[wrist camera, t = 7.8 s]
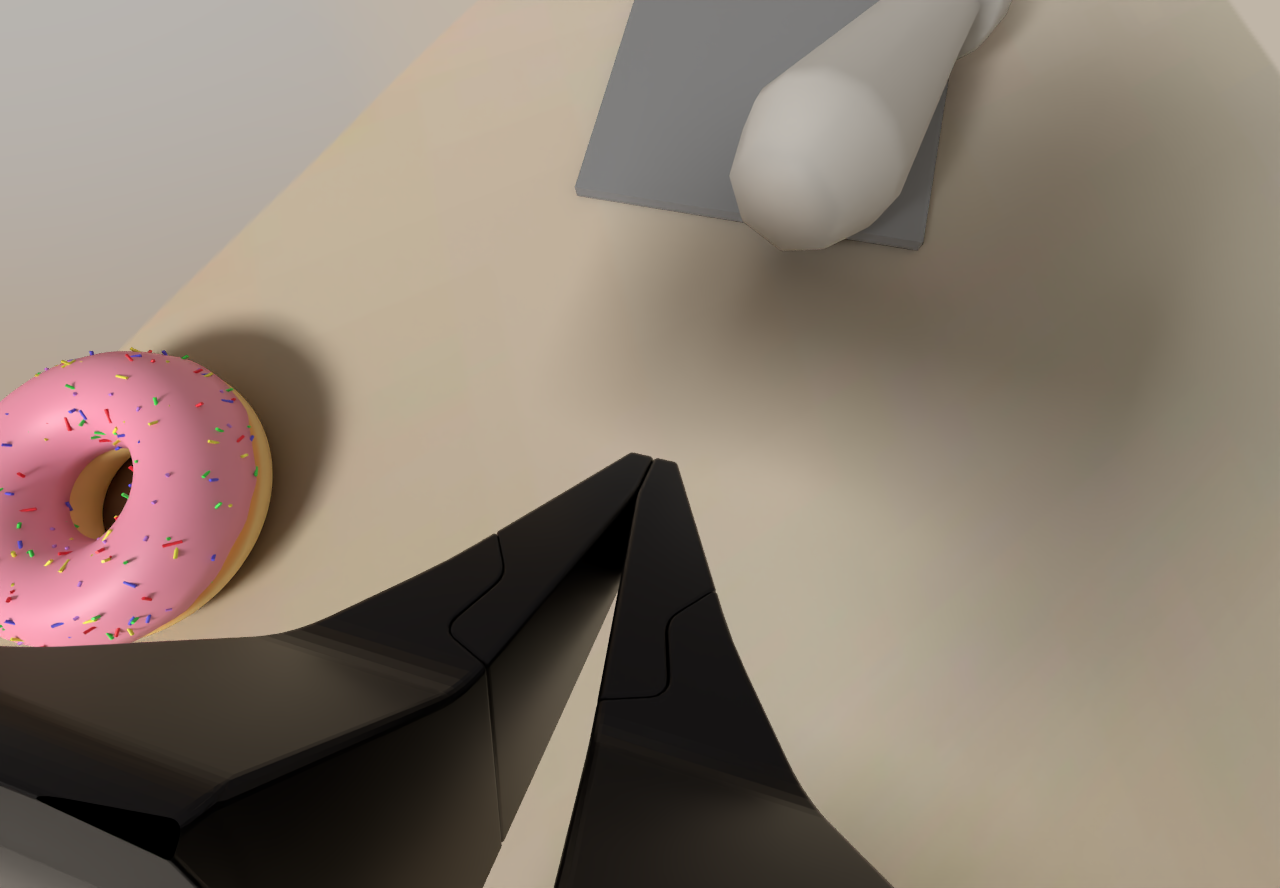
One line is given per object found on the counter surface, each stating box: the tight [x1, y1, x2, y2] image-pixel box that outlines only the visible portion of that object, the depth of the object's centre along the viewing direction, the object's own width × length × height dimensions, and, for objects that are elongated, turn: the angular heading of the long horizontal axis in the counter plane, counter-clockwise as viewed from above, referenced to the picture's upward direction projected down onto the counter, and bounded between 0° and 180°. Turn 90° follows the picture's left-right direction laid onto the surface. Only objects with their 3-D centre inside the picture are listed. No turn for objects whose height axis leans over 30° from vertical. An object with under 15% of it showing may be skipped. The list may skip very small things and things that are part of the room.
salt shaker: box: [729, 0, 1012, 251], centre depth 18 cm, size 6×6×13 cm
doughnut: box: [0, 347, 273, 647], centre depth 19 cm, size 11×11×4 cm
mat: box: [575, 0, 949, 250], centre depth 22 cm, size 18×14×1 cm
